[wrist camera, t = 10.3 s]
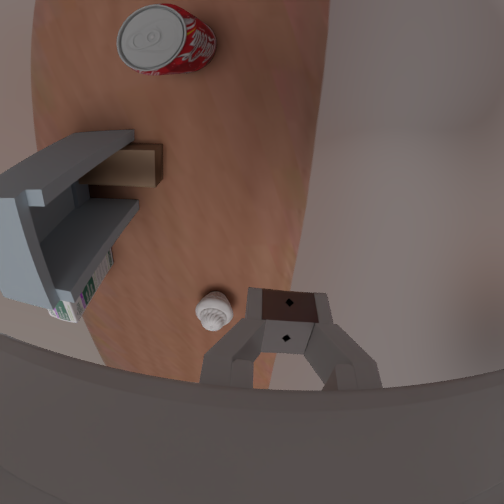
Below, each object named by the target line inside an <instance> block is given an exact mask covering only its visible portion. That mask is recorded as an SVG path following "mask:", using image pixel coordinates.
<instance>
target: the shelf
mask: <svg viewBox="0 0 504 504" xmlns="http://www.w3.org/2000/svg"><path fill="white" fill-rule="evenodd" d="M132 141H134V129H133V130H109V131H93V132H80V133H73V134H71V135H69V136H67V137H65V138H63V139H61V140H59V141H57V142H55V143H53V144H52V145H50V146H48V147H46V148H44V149H42V150H40V151H39V152H37V153H35V154H33V155H32V156H30V157H28V158H26V159H25V160H23V161H21V162H20V163H18V164H16V165H15V166H13V167H11V168H10V169H8V170H7V171H5V172H4V173H2V174H0V290H1V292H2V294H3V296H4V297H6V298H10V299H13V300H17V301H20V302H24V303H28V304H31V305H35V306H39V307H43V308H47V309H51V310H54V308H55V307H56V305H57V303H58V302H59V300H62V301H67V302H72V303H75V302H76V300H77V299H78V297H79V296H80V294H81V292H82V291H83V289H84V288H85V286H86V284H87V283H88V281H89V280H90V278H91V277H92V275H93V274H94V272H95V270H96V269H97V267H98V266H99V264H100V263H101V261H102V260H103V259H104V257H105V256H106V254H107V253H108V251H109V250H110V248H111V247H112V245H113V244H114V243H115V241H116V240H117V238H118V237H119V236H120V234H121V233H122V231H123V230H124V229H125V227H126V226H127V225H128V223H129V222H130V221H131V219H132V218H133V217H134V215H135V214H136V213H137V211H138V210H139V201H138V200H132V199H109V198H90V194H89V187H88V184H79V181H78V179H79V178H81V177H82V176H83V175H85V174H86V173H87V172H89V171H90V170H91V169H93V168H94V167H96V166H97V165H98V164H100V163H101V162H103V161H104V160H105V159H107V158H108V157H110V156H111V155H113V154H114V153H116V152H117V151H119V150H120V149H121V148H123V147H125V146H126V145H128V144H129V143H131V142H132Z"/></svg>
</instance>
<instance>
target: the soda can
mask: <svg viewBox="0 0 504 504" xmlns="http://www.w3.org/2000/svg"><path fill="white" fill-rule="evenodd" d="M117 50H118V53H119V56H120V58H121V59H122V61H123V62H124V63H125V64H126V65H127V66H129V67H130V68H132V69H133V70H135V71H136V72H138V73H141V74H145V75H167V74H180V73H190V72H194V71H197V70H199V69H201V68H203V67H204V66H205V65H207V64H208V63H209V61H210V60H211V59H212V57H213V55H214V53H215V50H216V37H215V35H214V33H213V31H212V29H211V28H210V27H209V26H208V25H206V24H205V23H203V22H202V21H201V20H199V19H198V18H196V17H195V16H193V15H192V14H190V13H189V12H187V11H185V10H184V9H182V8H180V7H178V6H176V5H172V4H155V5H149V6H145V7H143V8H140V9H138V10H137V11H135V12H134V13H132V14H131V15H130V16H129V17H128V18H127V19H126V20H125V21H124V23H123V24H122V26H121V28H120V30H119V33H118V36H117Z"/></svg>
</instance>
